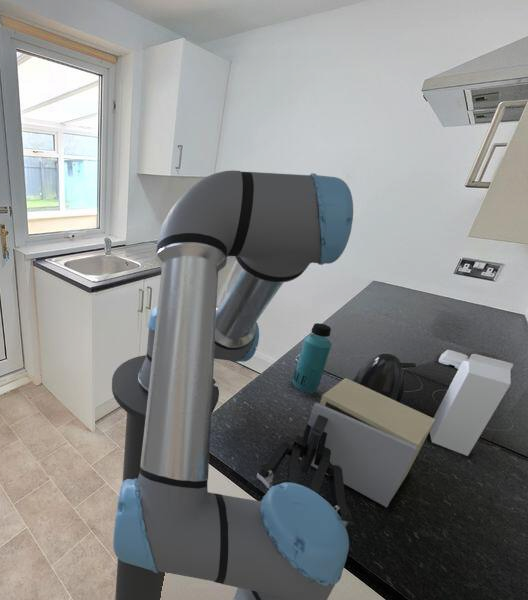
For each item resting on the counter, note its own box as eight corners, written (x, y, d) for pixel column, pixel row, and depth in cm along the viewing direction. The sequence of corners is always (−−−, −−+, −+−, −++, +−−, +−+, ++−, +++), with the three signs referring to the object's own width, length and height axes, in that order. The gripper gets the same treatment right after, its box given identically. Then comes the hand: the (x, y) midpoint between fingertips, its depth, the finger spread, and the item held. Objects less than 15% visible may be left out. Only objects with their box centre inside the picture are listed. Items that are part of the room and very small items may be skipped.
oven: (388, 504, 56) (418, 445, 51) (304, 447, 67) (322, 394, 62) (407, 474, 62) (435, 419, 57) (327, 427, 73) (345, 377, 68)
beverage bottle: (319, 390, 87) (340, 326, 79) (312, 401, 82) (334, 334, 75) (294, 380, 91) (312, 317, 84) (286, 389, 86) (304, 324, 79)
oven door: (383, 535, 51) (415, 473, 46) (286, 476, 60) (305, 421, 55) (387, 503, 56) (416, 446, 51) (298, 455, 65) (315, 401, 60)
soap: (441, 354, 110) (444, 346, 109) (468, 362, 105) (472, 355, 104) (437, 362, 105) (440, 354, 104) (465, 371, 100) (469, 363, 99)
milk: (467, 456, 67) (520, 370, 59) (430, 442, 71) (475, 359, 62) (462, 439, 72) (510, 358, 64) (427, 427, 75) (469, 347, 67)
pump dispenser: (399, 423, 76) (424, 370, 70) (349, 407, 80) (368, 356, 75) (391, 400, 84) (412, 351, 79) (346, 387, 89) (363, 340, 83)
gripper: (231, 518, 48) (270, 430, 66) (346, 593, 40) (355, 469, 57) (240, 483, 45) (278, 401, 63) (365, 556, 37) (368, 438, 55)
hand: (315, 434), depth 60 cm, fingers closed on oven door, 2 cm apart
